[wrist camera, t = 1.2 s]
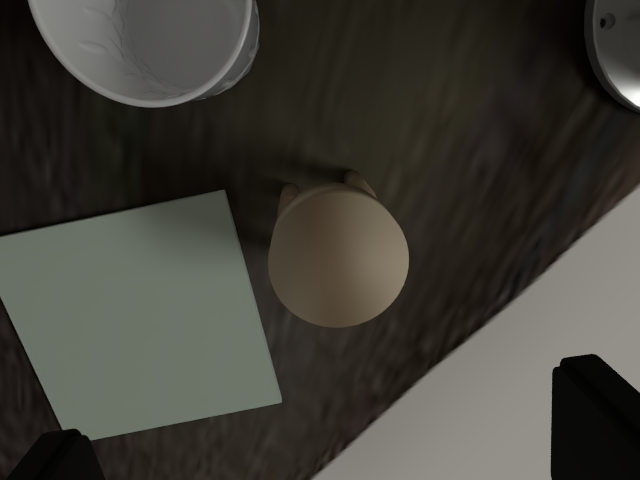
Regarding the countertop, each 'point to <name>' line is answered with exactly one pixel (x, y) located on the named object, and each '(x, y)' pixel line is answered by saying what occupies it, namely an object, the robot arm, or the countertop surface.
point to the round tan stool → (336, 253)
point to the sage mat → (139, 316)
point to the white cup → (152, 46)
